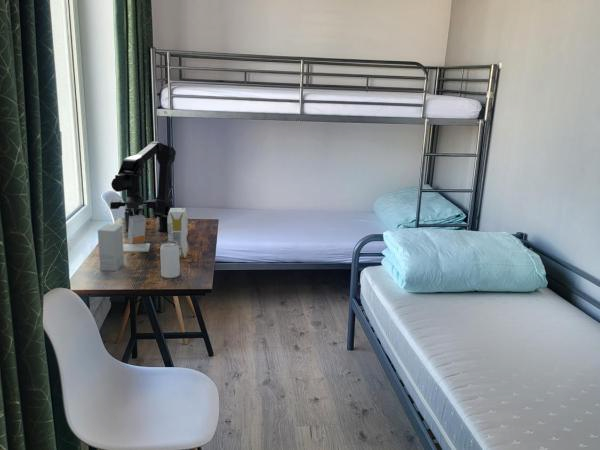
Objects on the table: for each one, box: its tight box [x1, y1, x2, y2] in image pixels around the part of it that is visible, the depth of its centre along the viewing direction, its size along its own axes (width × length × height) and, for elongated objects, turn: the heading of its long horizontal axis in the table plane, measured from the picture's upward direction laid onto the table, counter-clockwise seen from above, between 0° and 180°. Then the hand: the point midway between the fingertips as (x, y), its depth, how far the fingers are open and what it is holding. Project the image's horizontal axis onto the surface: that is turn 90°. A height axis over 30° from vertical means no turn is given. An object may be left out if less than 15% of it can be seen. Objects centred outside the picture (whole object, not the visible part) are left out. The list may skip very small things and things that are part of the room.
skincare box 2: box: [127, 214, 147, 244], centre depth 216 cm, size 6×4×12 cm
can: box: [159, 240, 181, 279], centre depth 180 cm, size 6×6×12 cm
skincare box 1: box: [97, 223, 125, 272], centre depth 186 cm, size 8×7×16 cm
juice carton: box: [167, 207, 189, 259], centre depth 201 cm, size 8×9×19 cm
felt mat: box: [123, 242, 151, 253], centre depth 211 cm, size 10×12×1 cm
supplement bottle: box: [124, 208, 141, 232], centre depth 238 cm, size 7×7×12 cm
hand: (135, 223), depth 218 cm, fingers closed
